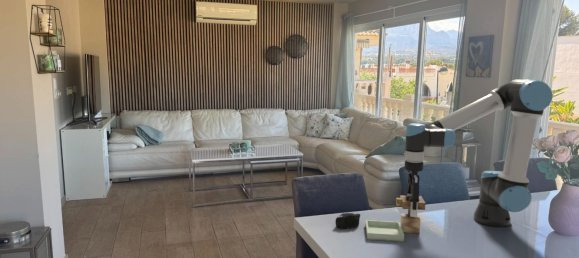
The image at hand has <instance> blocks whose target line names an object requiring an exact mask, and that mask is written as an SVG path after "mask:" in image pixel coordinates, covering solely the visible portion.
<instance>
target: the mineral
mask: <svg viewBox="0 0 579 258" xmlns="http://www.w3.org/2000/svg"><path fill="white" fill-rule="evenodd" d="M360 218H361V214H360V213H353V212H344V213H341V214H340V215H338V216H337V217H336V218H335V226H336V227H338V228H340V229H353V228H357V227H358V226H359V225H360ZM356 226H357V227H356Z"/></svg>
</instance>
